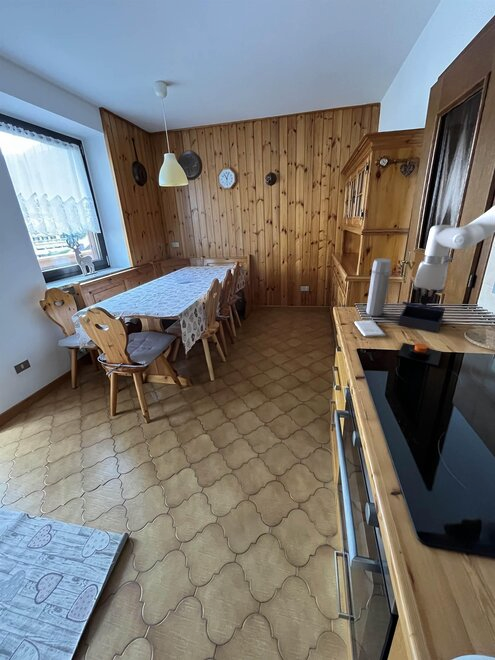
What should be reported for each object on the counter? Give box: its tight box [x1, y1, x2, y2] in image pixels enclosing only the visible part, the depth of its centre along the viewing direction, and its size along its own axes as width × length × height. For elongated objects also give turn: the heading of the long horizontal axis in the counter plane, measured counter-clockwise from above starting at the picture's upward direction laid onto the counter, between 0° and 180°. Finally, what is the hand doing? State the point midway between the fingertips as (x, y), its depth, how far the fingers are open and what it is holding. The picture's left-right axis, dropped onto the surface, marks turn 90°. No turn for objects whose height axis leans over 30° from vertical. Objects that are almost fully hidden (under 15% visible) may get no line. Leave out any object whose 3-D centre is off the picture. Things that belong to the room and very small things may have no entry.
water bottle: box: [365, 258, 393, 317], centre depth 125 cm, size 9×8×25 cm
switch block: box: [397, 342, 442, 368], centre depth 98 cm, size 12×10×3 cm
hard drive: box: [354, 320, 386, 338], centre depth 117 cm, size 2×8×12 cm
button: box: [414, 343, 429, 353], centre depth 97 cm, size 4×4×2 cm
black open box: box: [397, 305, 445, 334], centre depth 120 cm, size 14×15×4 cm
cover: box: [401, 301, 446, 312], centre depth 118 cm, size 14×15×1 cm
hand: (424, 304), depth 116 cm, fingers closed
